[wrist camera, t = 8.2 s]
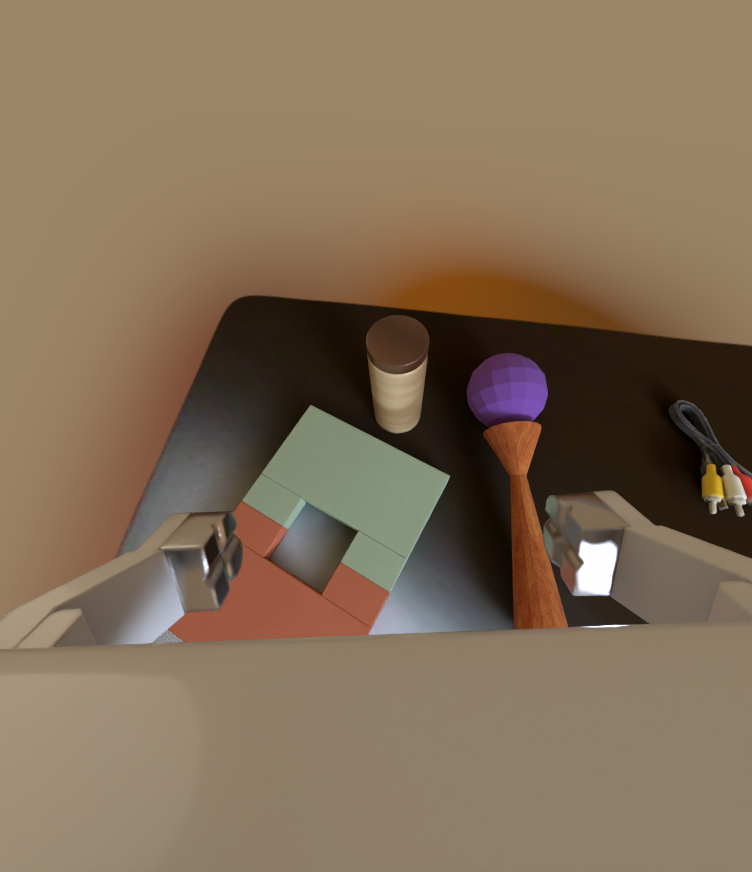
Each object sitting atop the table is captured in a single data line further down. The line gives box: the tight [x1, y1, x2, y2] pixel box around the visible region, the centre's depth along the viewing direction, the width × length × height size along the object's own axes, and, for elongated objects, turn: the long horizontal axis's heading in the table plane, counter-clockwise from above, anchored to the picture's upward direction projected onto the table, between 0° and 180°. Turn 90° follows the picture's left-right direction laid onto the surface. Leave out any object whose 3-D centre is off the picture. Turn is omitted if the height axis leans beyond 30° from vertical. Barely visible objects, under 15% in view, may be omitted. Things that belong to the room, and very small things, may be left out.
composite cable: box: [669, 400, 752, 516], centre depth 28 cm, size 10×5×2 cm, turn 177°
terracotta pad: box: [168, 501, 390, 642], centre depth 26 cm, size 10×13×2 cm
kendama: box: [466, 353, 568, 629], centre depth 27 cm, size 6×6×20 cm
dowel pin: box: [366, 315, 429, 433], centre depth 28 cm, size 4×4×10 cm
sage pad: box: [242, 405, 450, 592], centre depth 29 cm, size 10×13×2 cm
